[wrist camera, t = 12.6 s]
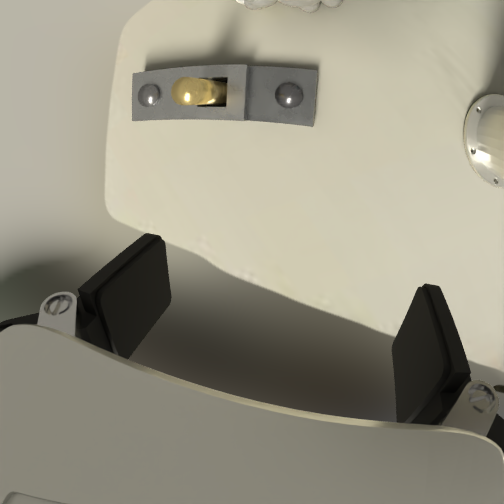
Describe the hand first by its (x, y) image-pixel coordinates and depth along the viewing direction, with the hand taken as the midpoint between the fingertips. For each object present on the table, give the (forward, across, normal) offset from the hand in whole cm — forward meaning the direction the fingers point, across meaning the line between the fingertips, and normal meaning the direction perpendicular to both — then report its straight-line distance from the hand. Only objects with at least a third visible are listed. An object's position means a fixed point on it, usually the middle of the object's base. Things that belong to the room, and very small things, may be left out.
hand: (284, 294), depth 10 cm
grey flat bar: (+28, +13, -7) cm, 32 cm away
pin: (+28, +13, -7) cm, 32 cm away
